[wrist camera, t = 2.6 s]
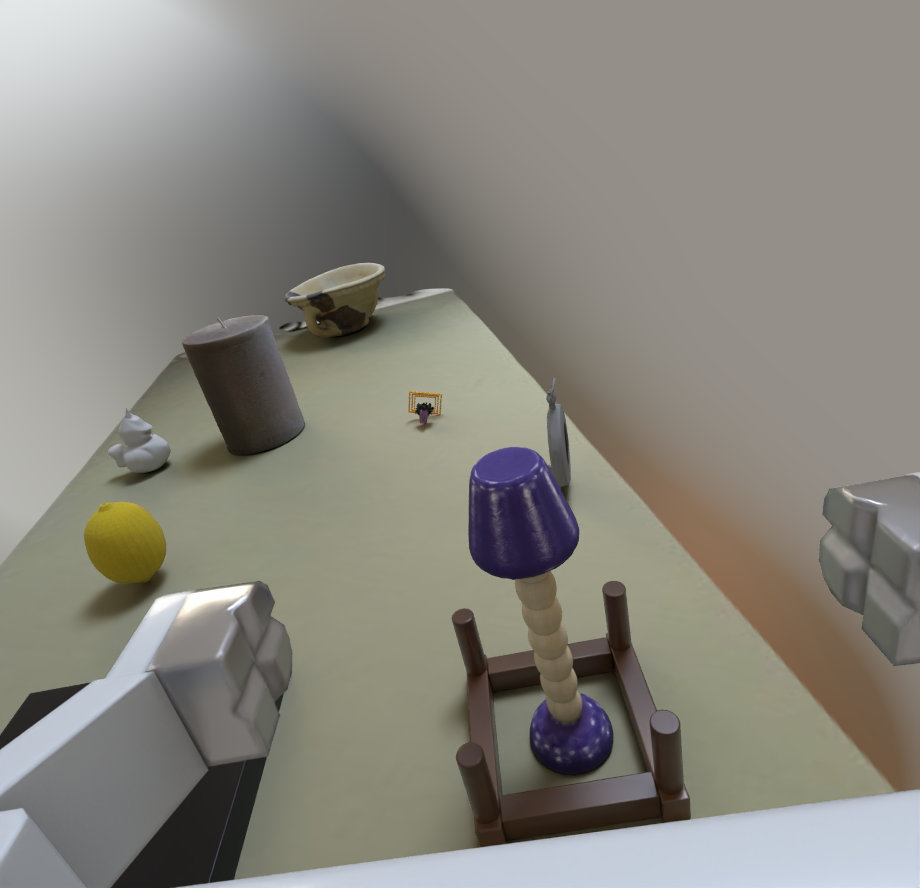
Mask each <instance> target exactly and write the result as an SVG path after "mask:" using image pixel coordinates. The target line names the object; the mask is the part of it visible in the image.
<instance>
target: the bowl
mask: <svg viewBox="0 0 920 888" xmlns="http://www.w3.org/2000/svg"><path fill="white" fill-rule="evenodd" d="M384 270H385V268H384V267H383V266H382V265H380V264H375V263H360V264H354V265H348V266H343V267H340V268H337V269H334V270H331V271H328V272H326V273H323V274H321V275H319V276H316V277H314V278H312V279H310V280H308V281H306V282H304V283H302V284H300V285H299V286H297V287H296V288H294V289H292V290H291V291H290V292H288V293H287V294H286V296H285V301H286V302H288V303H289V305H293V306H297V307H298V308H300V309H302V310H303V311H304V316H305V321H306V324H307V327H308V329H309V331H310V332H311V333H312V334H314V335H315V336H318V337H323V338H326V337H334V336H342V335H347V334H350V333H353V332H355V331H357V330H359V329H361V328H363V327H364V326H366V325H367V324H368V322H369V319H368V318H369V317H370V316H371V314H372V313H373V311H374V309H375V307H376V305H377V301H378V291H377V288H378V286H379V284H380V281H382V280H383V279H384V277H385V272H384ZM316 320H317V321H318V322H319V323H321V324H322V325H323V326H325V328H324V329H321V328H320V327H319V326H318V325H317V322H316Z"/></svg>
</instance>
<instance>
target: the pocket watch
mask: <svg viewBox="0 0 920 888" xmlns="http://www.w3.org/2000/svg"><path fill="white" fill-rule="evenodd" d="M554 387H555V378H553V379H552V385H551V390H548V391H547V394H548V395H547V398H546V400H547V402H548V403H549V410H548V414H547V429H548V444H549V453H550V460H551V466H550V465H547V466H548V467H549V469H550V471H551V473H552V475H553V476H554V478H555V480H556V482H557V484H558V486H559V487H560V489H561V488H562V487H563V486H566V485H569V484H570V453H569V441H568V434H567V427H566V420H565V415H564V411H563V408H562V406H561V405H558V404H555V400H556V396H555V394H554Z"/></svg>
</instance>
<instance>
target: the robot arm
mask: <svg viewBox="0 0 920 888" xmlns="http://www.w3.org/2000/svg"><path fill="white" fill-rule="evenodd" d="M823 515H824V517H825V518H826V519H827V520H828V521H829V522H830V523H831V524H832V527H831V528H830V529H829V530H828V532H827V533H826V534H825V535H824V537H823V538H822V539H821V540H820V553H819V561H820V565H821V569H822V573H823V576H824V580H825V582H826V583H827V585H828V587H829V589H830V591H831V593H832V594H833V595H834V596H835V597H836V599H837V600H838V601H839V603H840V604H841V605H842V606H844V607H847V608H849V609H851V610H853V611H855V612H857V613H860V614H862V615H863V623H862V629H863V631H864V632H865V633H866V634H867V635H868V637H869V638H870V639H871V640H872V641H873V642H874V644H875V645H876V646H877V647H878V648H879V649H880V650H881V652H882V653H883V654H884V655H885V656H886V657H887V659H888V660H889V661H890V662H891V663H892V664H893V666H898V665H906V664H915V663H920V472H917V473H912V474H907V475H904V476H901V477H895V478H890V479H884V480H878V481H873V482H867V483H861V484H855V485H850V486H844V487H838V488H833V489H829V491H828V493H827V495H826V497H825V499H824V506H823ZM274 604H275V601H274V599H273V597H272V595H271V592H270V590H269V588H268V586H267V585H266V584H264V583H262V582H261V581H256V582H249V583H242V584H235V585H227V586H220V587H213V588H206V589H199V590H196V591H186V592H180V593H174V594H168V595H164V596H162V597H160V598H158V599H156V600H155V602H154V603H153V605H152V606H151V608H150V609H149V611H148V613H147V614H146V616H145V617H144V619H143V620H142V622H141V623H140V625H139V627H138V628H137V630H136V631H135V633H134V634H133V636H132V638H131V639H130V641H129V642H128V644H127V645H126V647H125V648H124V650H123V652H122V653H121V655H120V656H119V658H118V659H117V661H116V662H115V664H114V666H113V667H112V669H111V670H110V672H109V673H108V675H107V676H106V678H105V679H100V680H94V681H93V682H91V683H90V684H89V685H87V686H86V687H85V688H83V689H82V690H81V691H79V692H78V693H77V694H75V695H74V696H72V697H71V698H70V699H68V700H67V701H66V702H64V703H63V704H62V705H60V706H59V707H58V708H56V709H55V710H53V711H52V712H51V713H49V714H48V715H47V716H45V717H44V718H43V719H41V720H40V721H39V722H37V723H36V724H34V725H33V726H32V727H30V728H29V729H28V730H26V731H25V732H24V733H22V734H21V735H20V736H18V737H17V738H15V739H14V740H13V741H11V742H10V743H9V744H7V745H6V746H5V747H3V748H2V749H1V750H0V888H111V887H112V886H113V884H114V883H115V882H116V881H117V880H118V878H119V877H120V876H121V875H122V873H123V872H124V871H125V870H126V869H127V867H128V866H129V865H130V864H131V863H132V861H133V860H134V859H135V858H136V857H137V855H138V854H139V853H140V852H141V851H142V849H143V848H144V847H145V846H146V845H147V843H148V842H149V841H150V840H151V839H152V837H153V836H154V835H155V834H156V833H157V831H158V830H159V829H160V828H161V827H162V825H163V824H164V823H165V822H166V821H167V819H168V818H169V817H170V816H171V815H172V813H173V812H174V811H175V810H176V809H177V807H178V806H179V805H180V804H181V803H182V801H183V800H184V799H185V798H186V797H187V795H188V794H189V793H190V792H191V790H192V789H193V788H194V787H195V786H196V784H197V783H198V782H199V781H200V780H201V778H202V777H203V776H204V775H205V774H206V772H207V771H208V768H207V767H210V766H216V765H222V764H227V763H233V762H239V761H245V760H250V759H256V758H262V757H268V754H269V750H270V747H271V744H272V740H273V737H274V733H275V730H276V727H277V723H278V720H279V717H280V714H279V712H278V710H277V707H276V705H275V703H274V702H275V701H276V700H277V699H278V698H279V697H280V696H281V695H282V694H283V693H284V692H285V691H286V690H287V689H288V685H289V681H290V677H291V674H292V649H291V644H290V639H289V636H288V633H287V631H286V628H285V626H284V625H283V624H282V623H280V622H279V621H277V620H276V619H274V618H273V617H271V616H270V615H271V612H272V609H273V606H274ZM177 888H920V789H918V790H910V791H903V792H895V793H887V794H880V795H872V796H865V797H857V798H850V799H842V800H834V801H827V802H819V803H812V804H804V805H797V806H789V807H782V808H774V809H767V810H759V811H751V812H744V813H736V814H729V815H721V816H714V817H706V818H699V819H691V820H684V821H676V822H668V823H661V824H653V825H646V826H638V827H631V828H623V829H616V830H608V831H601V832H593V833H585V834H578V835H570V836H563V837H555V838H548V839H540V840H533V841H525V842H518V843H510V844H503V845H495V846H487V847H480V848H472V849H465V850H457V851H449V852H442V853H434V854H427V855H419V856H411V857H404V858H396V859H389V860H381V861H373V862H366V863H358V864H351V865H343V866H335V867H328V868H320V869H313V870H305V871H297V872H290V873H282V874H275V875H267V876H259V877H252V878H244V879H237V880H229V881H222V882H214V883H207V884H199V885H192V886H184V887H177Z"/></svg>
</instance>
